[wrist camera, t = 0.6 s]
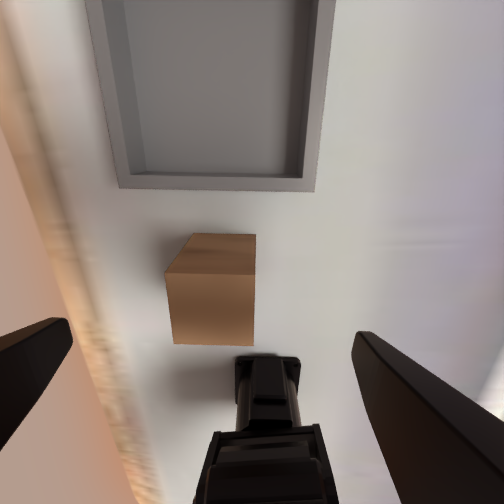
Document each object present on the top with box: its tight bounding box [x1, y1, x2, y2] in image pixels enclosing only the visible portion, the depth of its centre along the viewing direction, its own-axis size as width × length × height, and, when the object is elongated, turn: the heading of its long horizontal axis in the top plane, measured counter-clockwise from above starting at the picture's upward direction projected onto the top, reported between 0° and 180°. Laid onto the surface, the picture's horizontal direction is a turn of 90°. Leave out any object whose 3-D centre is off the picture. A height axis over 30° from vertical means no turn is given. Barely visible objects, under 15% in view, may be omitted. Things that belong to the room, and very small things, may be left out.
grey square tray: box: [85, 0, 336, 192], centre depth 15 cm, size 12×12×4 cm
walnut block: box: [164, 233, 256, 346], centre depth 18 cm, size 5×5×7 cm
